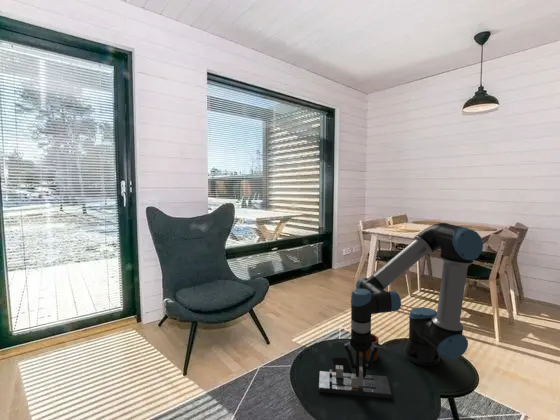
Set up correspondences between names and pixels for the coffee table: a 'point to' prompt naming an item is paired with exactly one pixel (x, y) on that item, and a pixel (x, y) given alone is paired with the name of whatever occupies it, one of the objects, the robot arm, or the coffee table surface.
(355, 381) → the block
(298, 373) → the coffee table surface
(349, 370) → the smartphone
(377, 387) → the console
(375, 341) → the mug
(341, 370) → the fader
